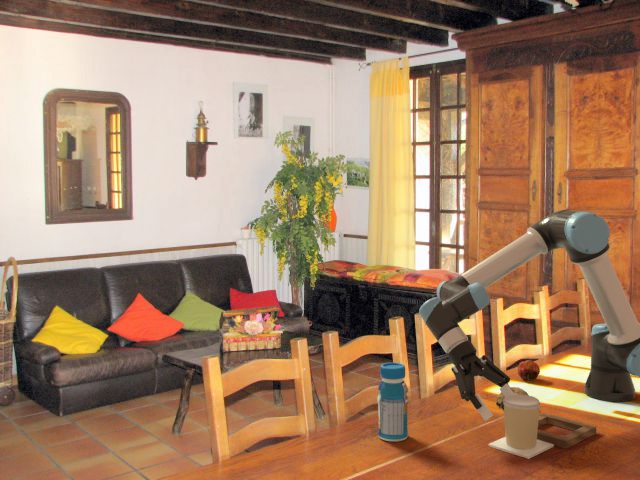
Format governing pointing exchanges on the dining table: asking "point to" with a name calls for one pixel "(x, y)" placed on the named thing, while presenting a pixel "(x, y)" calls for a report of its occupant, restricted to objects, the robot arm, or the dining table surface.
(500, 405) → the bread roll
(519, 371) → the pomegranate
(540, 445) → the white tile
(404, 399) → the beverage bottle
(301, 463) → the dining table surface
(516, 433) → the coffee cup
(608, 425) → the dining table surface
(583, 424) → the square frame
